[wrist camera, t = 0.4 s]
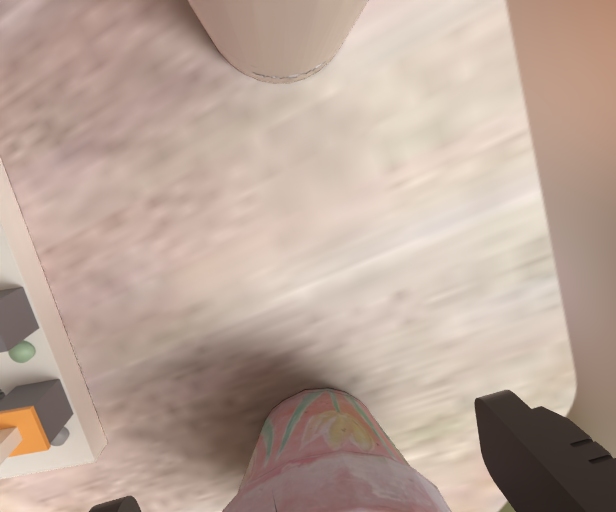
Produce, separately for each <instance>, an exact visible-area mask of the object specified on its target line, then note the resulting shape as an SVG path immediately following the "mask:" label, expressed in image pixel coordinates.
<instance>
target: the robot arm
mask: <svg viewBox="0 0 616 512" xmlns="http://www.w3.org/2000/svg"><path fill="white" fill-rule="evenodd" d="M188 2H189V4H190V5H191V7H192V9H193V10H194V12H195V13H196V15H197V17H198V18H199V20H200V22H201V24H202V25H203V27H204V28H205V30H206V31H207V33H208V35H209V36H210V38H211V39H212V41H213V42H214V44H215V46H216V47H217V49H218V50H219V52H220V53H221V54H222V55H223V56H224V57H225V58H226V59H227V60H228V61H229V63H230V64H231V65H233V66H234V67H236V68H237V69H238V70H240V71H241V72H243V73H244V74H246V75H248V76H250V77H253V78H255V79H257V80H260V81H265V82H270V83H291V82H295V81H298V80H302V79H305V78H307V77H309V76H311V75H313V74H314V73H316V72H318V71H319V70H320V69H322V68H323V67H324V66H325V65H326V64H327V63H329V62H330V61H331V59H332V58H333V57H334V55H335V54H336V53H337V51H338V50H339V49H340V47H341V45H342V44H343V42H344V40H345V39H346V37H347V35H348V34H349V32H350V31H351V29H352V27H353V26H354V24H355V22H356V21H357V19H358V17H359V16H360V14H361V12H362V11H363V9H364V7H365V5H366V4H367V2H368V0H188ZM475 412H476V419H477V426H478V433H479V440H480V447H481V453H482V457H483V460H484V462H485V465H486V467H487V469H488V472H489V474H490V475H491V477H492V479H493V480H494V482H495V483H496V485H497V486H498V488H499V489H500V490H501V492H502V493H503V495H504V496H505V497H506V499H507V500H508V501H509V503H510V504H511V506H512V507H513V508H514V510H515V511H516V512H616V458H612V456H611V454H610V453H609V452H608V451H607V450H605V449H604V448H603V447H602V446H601V445H599V444H598V443H597V442H593V441H592V439H591V437H590V436H589V435H587V434H586V433H585V432H584V431H583V430H581V429H580V428H579V427H578V426H576V425H575V424H574V423H573V422H572V421H570V420H569V419H568V418H566V417H563V416H561V415H559V414H557V413H555V412H553V411H551V410H548V409H546V408H544V407H542V406H541V407H537V408H534V409H531V408H530V407H529V406H528V405H526V404H525V403H524V402H523V401H522V400H521V399H520V398H519V397H518V396H517V395H515V394H514V393H513V392H512V391H510V390H504V391H500V392H497V393H493V394H490V395H486V396H483V397H479V398H476V399H475ZM89 512H141V510H140V507H139V505H138V503H137V501H136V499H135V498H134V497H133V496H126V497H123V498H119V499H116V500H112V501H109V502H105V503H102V504H98V505H95V506H94V507H92V508H91V510H90V511H89Z"/></svg>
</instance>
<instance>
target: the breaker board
mask: <svg viewBox="0 0 616 512" xmlns="http://www.w3.org/2000/svg"><path fill="white" fill-rule="evenodd" d="M106 444H107V440H106V437H105V434H104V432H103V429H102V426H101V424H100V421H99V418H98V416H97V413H96V410H95V408H94V405H93V402H92V400H91V397H90V394H89V392H88V389H87V386H86V384H85V381H84V378H83V376H82V373H81V370H80V368H79V365H78V363H77V360H76V357H75V355H74V352H73V349H72V347H71V344H70V341H69V339H68V336H67V333H66V331H65V328H64V325H63V323H62V320H61V317H60V315H59V312H58V309H57V307H56V304H55V301H54V299H53V296H52V293H51V291H50V288H49V285H48V283H47V280H46V277H45V275H44V272H43V269H42V267H41V264H40V261H39V259H38V256H37V253H36V251H35V248H34V246H33V243H32V240H31V238H30V235H29V232H28V230H27V227H26V224H25V222H24V219H23V216H22V214H21V211H20V208H19V206H18V203H17V200H16V198H15V195H14V192H13V190H12V187H11V184H10V182H9V179H8V176H7V174H6V171H5V168H4V166H3V163H2V160H1V158H0V479H4V478H10V477H16V476H21V475H27V474H32V473H38V472H44V471H49V470H55V469H61V468H66V467H72V466H77V465H83V464H89V463H94V462H96V461H97V459H98V457H99V456H100V454H101V452H102V451H103V449H104V447H105V446H106Z"/></svg>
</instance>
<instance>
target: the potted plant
mask: <svg viewBox="0 0 616 512" xmlns="http://www.w3.org/2000/svg"><path fill="white" fill-rule="evenodd" d="M222 512H451V510H450V508H449V507H448V505H447V503H446V502H445V500H444V498H443V497H442V495H441V493H440V492H439V490H438V488H437V487H436V486H435V485H434V484H433V483H431V482H430V481H429V480H428V479H426V478H425V477H424V476H422V475H421V474H420V473H419V472H417V471H416V470H415V469H414V468H412V467H411V466H410V465H409V464H408V462H407V461H406V460H405V459H404V457H403V456H402V455H401V453H400V452H399V451H398V449H397V448H396V447H395V445H394V444H393V443H392V441H391V440H390V439H389V437H388V436H387V435H386V433H385V432H384V431H383V429H382V428H381V427H380V425H379V424H378V423H377V421H376V420H375V419H374V417H373V416H372V415H371V413H370V412H369V410H368V409H367V408H366V407H365V406H364V405H363V404H362V403H361V402H360V401H359V400H358V399H356V398H354V397H352V396H351V395H349V394H347V393H346V392H343V391H338V390H334V389H330V388H323V389H310V390H304V391H302V392H300V393H298V394H296V395H294V396H292V397H289V398H287V399H285V400H284V401H283V402H281V403H280V404H279V405H277V406H276V407H275V408H273V409H272V411H271V412H270V414H269V415H268V417H267V419H266V420H265V422H264V425H263V428H262V430H261V433H260V436H259V438H258V441H257V444H256V446H255V449H254V452H253V454H252V457H251V459H250V462H249V465H248V467H247V470H246V473H245V475H244V478H243V480H242V483H241V486H240V488H239V491H238V494H237V495H236V496H235V497H234V498H233V500H232V501H231V502H230V503H229V504H228V505H227V506H226V508H225V509H224V510H223V511H222Z"/></svg>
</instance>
